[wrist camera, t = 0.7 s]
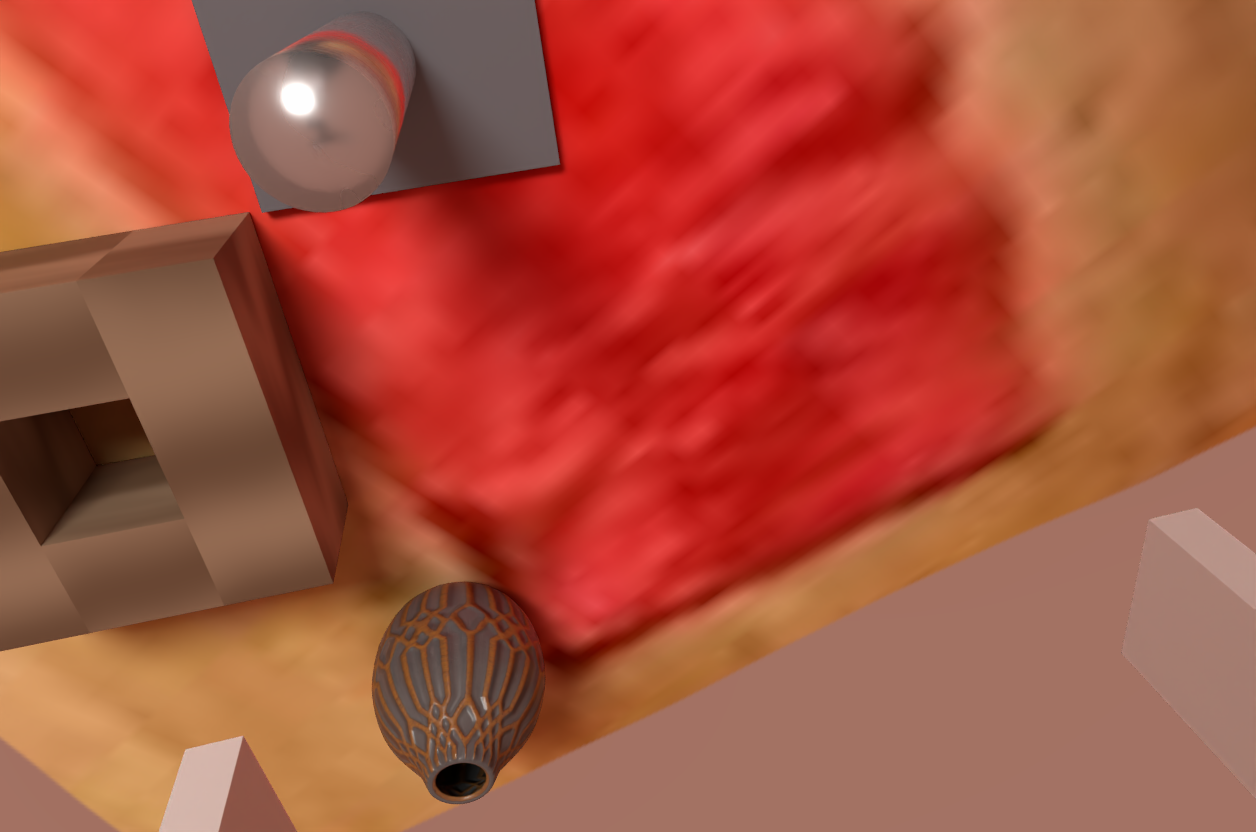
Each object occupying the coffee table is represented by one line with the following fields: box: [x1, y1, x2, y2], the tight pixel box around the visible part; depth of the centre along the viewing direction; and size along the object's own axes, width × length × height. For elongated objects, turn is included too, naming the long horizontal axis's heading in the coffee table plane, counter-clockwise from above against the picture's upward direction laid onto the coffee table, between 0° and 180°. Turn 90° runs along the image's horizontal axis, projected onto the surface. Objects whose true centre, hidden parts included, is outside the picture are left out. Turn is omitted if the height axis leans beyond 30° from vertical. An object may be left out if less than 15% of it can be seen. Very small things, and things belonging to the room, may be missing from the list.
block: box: [0, 212, 348, 651], centre depth 29 cm, size 12×12×5 cm
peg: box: [229, 11, 416, 212], centre depth 22 cm, size 3×3×12 cm
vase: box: [372, 582, 545, 804], centre depth 35 cm, size 7×7×9 cm
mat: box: [192, 0, 560, 213], centre depth 27 cm, size 10×10×1 cm
